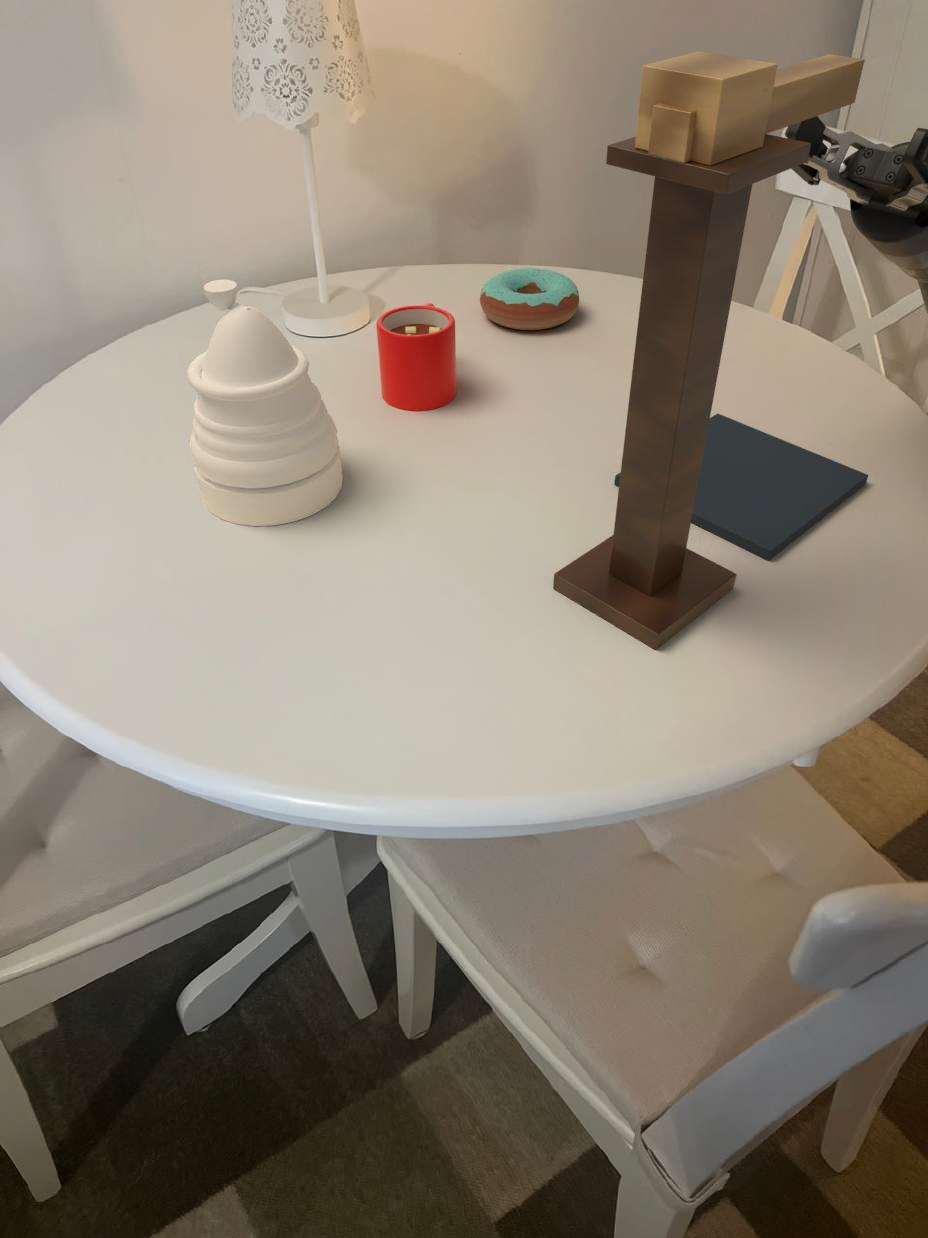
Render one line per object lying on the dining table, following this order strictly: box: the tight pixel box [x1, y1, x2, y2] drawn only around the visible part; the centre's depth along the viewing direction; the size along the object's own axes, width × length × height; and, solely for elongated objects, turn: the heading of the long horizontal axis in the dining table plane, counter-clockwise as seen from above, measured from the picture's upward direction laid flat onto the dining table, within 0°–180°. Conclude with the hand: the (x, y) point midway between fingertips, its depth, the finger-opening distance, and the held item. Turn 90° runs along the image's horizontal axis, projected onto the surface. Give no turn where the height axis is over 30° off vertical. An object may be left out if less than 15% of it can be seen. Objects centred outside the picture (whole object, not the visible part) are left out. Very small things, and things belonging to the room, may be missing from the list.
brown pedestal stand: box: [552, 133, 811, 651], centre depth 62 cm, size 10×10×32 cm
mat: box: [613, 413, 869, 562], centre depth 83 cm, size 16×16×1 cm
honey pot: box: [186, 279, 344, 527], centre depth 78 cm, size 13×13×18 cm
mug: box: [375, 302, 457, 412], centre depth 96 cm, size 8×12×8 cm, turn 172°
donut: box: [479, 267, 580, 331], centre depth 111 cm, size 12×12×4 cm
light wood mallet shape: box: [635, 50, 866, 166], centre depth 53 cm, size 5×18×4 cm, turn 134°
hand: (854, 132), depth 62 cm, fingers open, 8 cm apart
